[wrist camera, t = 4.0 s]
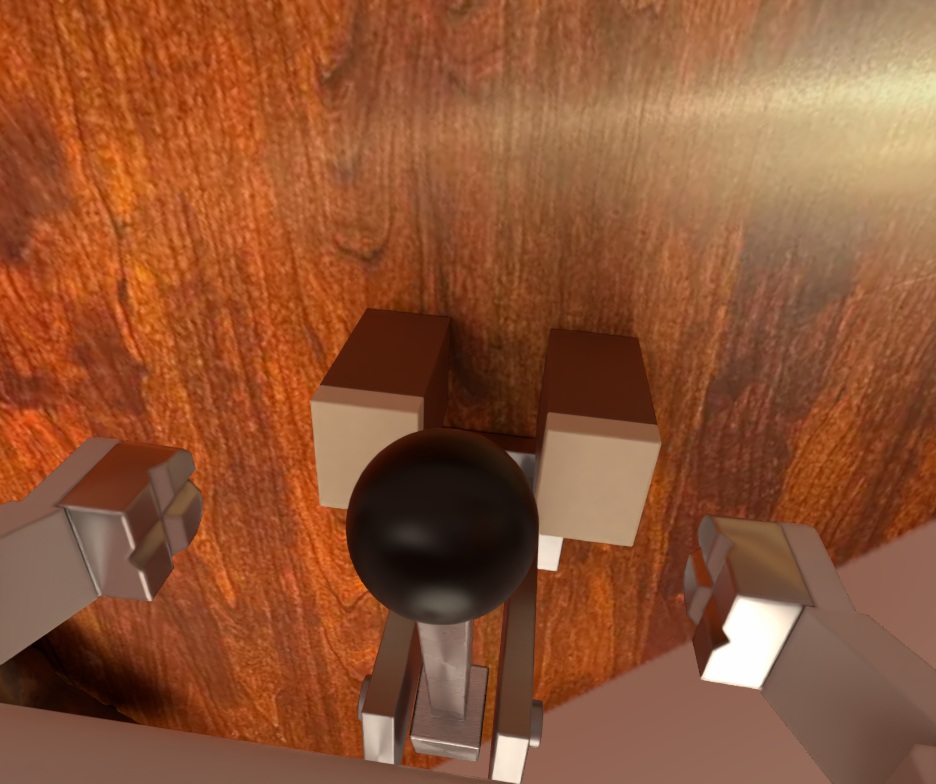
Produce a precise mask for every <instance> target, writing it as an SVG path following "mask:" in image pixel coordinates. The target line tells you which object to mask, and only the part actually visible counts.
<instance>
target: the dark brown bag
mask: <svg viewBox="0 0 936 784" xmlns="http://www.w3.org/2000/svg"><path fill="white" fill-rule="evenodd" d="M0 703H4V704H10V705H17V706H23V707H29V708H36V709H42V710H49V711H55V712H61V713H68V714H74V715H81V716H87V717H93V718H100V719H106V720H113V721H119V722H126V723H132V724H138V725H142V724H140V723H137V722H136V721H134V720H133V719H131V718H129V717H127V716H125V715H124V714H122V713H120V712H118V711H117V709H116V707H115V706H113V705H105V704H103V703H101V702H99V701H98V700H96V699H95V698H93V697H92V696H90V695H88V694H87V693H85V692H83V691H82V690H80V689H78V688H76V687H74V686H72V685H70V684H67V683H65V682H64V681H62V680H60V679H59V678H58V677H57V675H56V673H55V672H54V670H53V668H52V666H51V665H50V663H49V662H48V660H47V659H46V657H45V656H44V655H43V654H42V653H41V652H39V651H38V650H37V649H35V648H34V647H32V646H31V645H29V646H28V647H26V648H25V649H23V650H22V651H20V652H19V653H17V654H16V655H15V656H13V657H12V658H10V659H9V660H7V661H6V662H4V663H3V664H1V665H0Z"/></svg>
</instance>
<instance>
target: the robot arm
mask: <svg viewBox="0 0 936 784" xmlns="http://www.w3.org/2000/svg"><path fill="white" fill-rule="evenodd" d="M194 471H195V465H194V462H193V458H192V454H191V453H190V452H189V451H187V450H185V449H182V448H175V447H168V446H162V445H155V444H148V443H142V442H135V441H128V440H126V441H123V440H117V439H111V438H104V437H94V438H91V439H87V440H86V441H85V442H84V443H83V444H82V445H81V446H80V447H78V448H77V449H76V450H75V451H74V452H73V453H72V454H71V455H70V456H69V457H68V458H67V459H66V460H65V461H64V462H63V463H61V464H60V465H59V466H58V467H57V468H56V469H55V470H54V471H53V472H52V473H51V474H50V475H49V476H48V477H47V478H45V479H44V480H43V481H42V482H41V483H40V484H39V485H38V486H37V487H36V488H35V489H34V490H33V491H32V492H31V493H30V494H28V495H27V496H26V497H25V498H24V499H23V500H22V501H21V502H15V501H9V502H7V503H5V504H2V505H0V665H1V664H3V663H4V662H6V661H7V660H9V659H10V658H12V657H13V656H15V655H16V654H17V653H19V652H20V651H22V650H23V649H25V648H26V647H28V646H29V645H31V644H32V643H34V642H35V641H36V640H38V639H39V638H41V637H42V636H44V635H45V634H47V633H48V632H50V631H51V630H53V629H54V628H55V627H57V626H58V625H60V624H61V623H63V622H64V621H66V620H67V619H69V618H70V617H72V616H73V615H74V614H76V613H77V612H79V611H80V610H82V609H83V608H85V607H86V606H88V605H89V604H91V603H92V602H94V601H95V600H96V599H98V596H107V597H116V598H125V599H134V600H143V601H152V600H153V599H154V597H155V596H156V594H157V593H158V591H159V590H160V588H161V587H162V585H163V584H164V582H165V581H166V579H167V578H168V576H169V575H170V573H171V572H172V570H173V569H174V566H173V561H172V556H173V555H175V554H176V553H178V552H180V551H182V550H183V549H185V548H187V547H188V546H189V545H190V543H191V541H192V540H193V538H194V537H195V535H196V534H197V531H198V528H199V525H200V521H201V518H202V509H203V501H202V496H201V491H200V489H199V488H198V487H197V486H196V485H195V484H194V483H193V482H192V481H191V480H190V479H189V477H190V476H191V475H192V473H193V472H194ZM697 534H698V538H699V542H700V547H699V548H697V549H696V550H694V551H693V552H691V553H690V554H689V558H688V561H687V564H686V567H685V574H684V583H683V591H684V602H685V607H686V612H687V615H688V616H689V617H690V618H691V619H692V620H693V621H694V622H695V623H696V624H697V628H696V631H695V633H694V636H693V639H692V641H693V646H694V650H695V655H696V659H697V664H698V668H699V673H700V678H701V680H708V681H713V682H719V683H725V684H731V685H737V686H743V687H749V688H755V689H760V690H761V692H760V693H761V694H762V695H763V697H764V698H765V699H766V700H767V702H768V703H769V704H770V705H771V707H772V708H773V709H774V711H775V712H776V713H777V714H778V716H779V717H780V718H781V720H782V721H783V722H784V723H785V725H786V726H787V727H788V728H789V730H790V731H791V732H792V733H793V735H794V736H795V737H796V739H797V740H798V741H799V742H800V744H801V745H802V746H803V747H804V749H805V750H806V751H807V753H808V754H809V755H810V756H811V758H812V759H813V760H814V761H815V763H816V764H817V765H818V767H819V768H820V769H821V770H822V772H823V773H824V774H825V775H826V777H827V778H828V779H829V780H830V782H831V783H832V784H936V669H934V668H933V667H932V666H931V665H929V664H928V663H927V662H926V661H924V660H923V659H922V658H921V657H919V656H918V655H917V654H916V653H914V652H913V651H912V650H911V649H910V648H908V647H907V646H906V645H905V644H903V643H902V642H901V641H900V640H899V639H897V638H896V637H895V636H894V635H892V634H891V633H890V632H889V631H887V630H886V629H885V628H884V627H883V626H881V625H880V624H879V623H878V622H876V621H875V620H874V619H873V618H871V617H870V616H869V615H865V614H858V613H857V612H856V610H855V608H854V606H853V604H852V602H851V600H850V598H849V596H848V594H847V592H846V590H845V587H844V585H843V583H842V581H841V579H840V577H839V575H838V573H837V571H836V569H835V567H834V565H833V563H832V561H831V559H830V557H829V555H828V553H827V551H826V549H825V547H824V545H823V543H822V541H821V539H820V537H819V535H818V533H817V531H816V530H815V529H814V528H813V527H812V526H810V525H805V524H796V523H787V522H777V521H775V522H771V521H763V520H755V519H746V518H738V517H729V516H721V515H712V514H706V516H705V517H704V518H703V519H702V521H701V524H700V526H699V529H698V532H697ZM97 595H98V596H97ZM0 784H518V783H511V782H505V781H498V780H492V779H486V778H479V777H472V776H466V775H459V774H453V773H447V772H440V771H434V770H427V769H421V768H415V767H408V766H402V765H395V764H389V763H382V762H376V761H370V760H363V759H357V758H350V757H344V756H337V755H331V754H325V753H318V752H312V751H305V750H299V749H292V748H286V747H280V746H273V745H267V744H260V743H254V742H247V741H241V740H235V739H228V738H222V737H215V736H209V735H203V734H196V733H190V732H183V731H177V730H170V729H164V728H158V727H151V726H145V725H138V724H132V723H126V722H119V721H113V720H106V719H100V718H93V717H87V716H81V715H74V714H68V713H61V712H55V711H49V710H42V709H36V708H29V707H23V706H17V705H10V704H4V703H0Z"/></svg>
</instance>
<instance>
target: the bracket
mask: <svg viewBox="0 0 936 784" xmlns="http://www.w3.org/2000/svg"><path fill="white" fill-rule="evenodd" d="M465 431H466V430H465ZM470 432H473V433H476V434H478V435H481V436H483V437H485V438H487V439H489V440H491V441H492V442H494V443H495V444H497V445H498V446H500V447H501V448H502V449H504V450H505V451H506V452H507V453H508V454H509V455H510V456H511V457H512V458H513V459H514V460H515V461H516V462H517V463H518V465H519V466H520V468H521V469H522V471H523V472H524V473H525V475H526V477H527V479H528V481H529V483H530V485H531V487H532V490H533V486H534V468H535V450H536V439H532V438H524V437H515V436H507V435H499V434H491V433H482V432H474V431H470ZM563 542H564V538H562V537H554V536H547V535H539V537H538V544H537V549H536V552H535V556H534V559H533V562H532V564H531V566H530V568H529V571H528V573H527V575H526V576H525V578H524V580H523V581H522V583H521V584H520V586H519V587H518V588H517V589H516V590H515V591H514V593H513V594H512V595H511V596H510V597H509V598H508V599H507V600H506V601H505V602H504V611H503V622H502V633H501V644H500V655H499V665H498V676H497V687H496V698H495V709H494V720H493V730H492V741H491V753H490V764H489V774H488V779H492V780H498V781H505V782H511V783H518V784H521V783H522V779H523V773H524V769H525V764H526V759H527V754H528V749H529V747H534V748H538V747H539V746H540V742H541V736H542V726H543V702H542V701H541V700H535V699H532V696H533V671H534V646H535V621H536V596H537V571H538V569H543V570H550V571H558V568H559V563H560V558H561V553H562V547H563ZM421 664H422V654H421V647H420V641H419V635H418V629H417V623H416V621H413V620H410V619H407V618H405V617H402V616H400V615H398V614H396V613H395V612H393V611H391V610H389V614H388V618H387V621H386V625H385V629H384V632H383V636H382V639H381V643H380V647H379V650H378V654H377V657H376V661H375V665H374V668H373V672H372V675H370V674H368V675H366V676H365V678H364V681H363V683H362V687H361V691H360V695H359V701H358V709H357V716H358V719H359V720H362V733H363V751H364V760H370V761H376V762H382V763H389V764H395V765H401V760H402V755H403V750H404V746H405V741H406V736H407V731H408V726H409V721H410V717H411V712H412V707H413V702H414V697H415V693H416V688H417V683H418V678H419V673H420V668H421Z"/></svg>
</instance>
